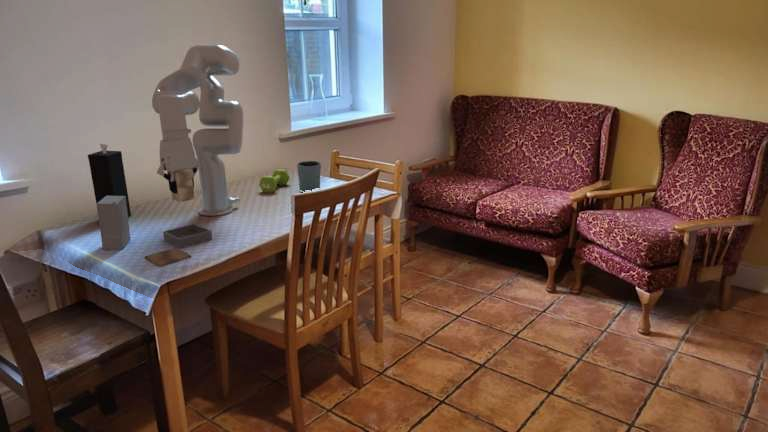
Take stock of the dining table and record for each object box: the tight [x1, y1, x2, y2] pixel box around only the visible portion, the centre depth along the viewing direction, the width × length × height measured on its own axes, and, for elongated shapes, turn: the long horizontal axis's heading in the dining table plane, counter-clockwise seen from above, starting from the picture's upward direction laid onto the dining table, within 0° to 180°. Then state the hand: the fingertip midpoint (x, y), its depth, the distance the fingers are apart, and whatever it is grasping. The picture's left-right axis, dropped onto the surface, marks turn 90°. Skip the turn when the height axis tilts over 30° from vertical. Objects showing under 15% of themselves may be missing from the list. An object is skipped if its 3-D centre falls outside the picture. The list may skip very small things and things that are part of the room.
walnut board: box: [143, 246, 192, 267], centre depth 174 cm, size 10×10×1 cm
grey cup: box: [296, 160, 322, 192], centre depth 243 cm, size 10×10×12 cm
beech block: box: [171, 169, 195, 203], centre depth 183 cm, size 5×5×10 cm
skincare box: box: [96, 196, 132, 251], centre depth 182 cm, size 8×7×16 cm
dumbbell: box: [258, 168, 291, 194], centre depth 248 cm, size 16×8×7 cm, turn 164°
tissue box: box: [87, 143, 132, 218], centre depth 206 cm, size 8×8×28 cm
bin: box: [162, 223, 213, 249], centre depth 188 cm, size 11×11×3 cm
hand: (182, 190), depth 184 cm, fingers closed on beech block, 5 cm apart
